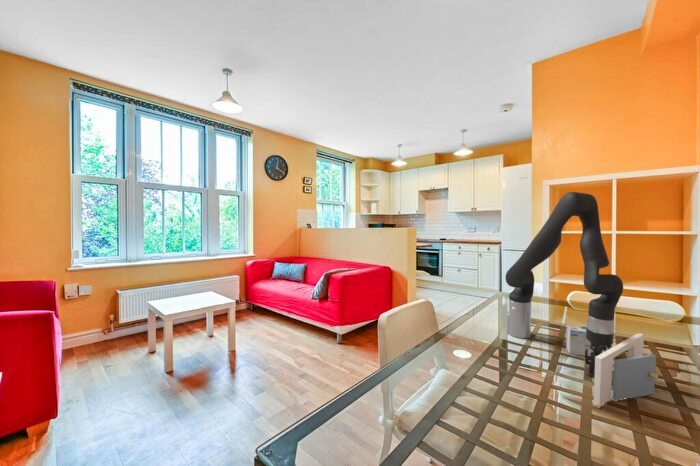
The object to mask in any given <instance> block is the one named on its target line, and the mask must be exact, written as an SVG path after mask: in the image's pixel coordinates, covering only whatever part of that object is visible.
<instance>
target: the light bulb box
mask: <svg viewBox="0 0 700 466" xmlns="http://www.w3.org/2000/svg"><path fill="white" fill-rule="evenodd" d="M565 325H566V326H565V328H566V329H565V333H566V334H565V338H566V339H565V348H566V350H567V353H568V354H570V355H577V356H584V357H585V350H586V349H587V350H590V349H589V347H590V345H591V342H590V341H589V340H587V339H586V327H587V325H575V324H568V323H567V324H565ZM595 357H596V356H595Z"/></svg>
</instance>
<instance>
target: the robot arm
mask: <svg viewBox="0 0 700 466" xmlns="http://www.w3.org/2000/svg"><path fill="white" fill-rule="evenodd" d="M572 217H578V218H579V220H580V223H581V226H582V233H581V238H580V240H579V250H580V255H581V257H582V260H583V265H584V266H583V267H584V268H583V270H584V271H583V286H584V289H586V290H587V292H588V293H590V294H592V295H599V297H596V298H593V299H590V301H589V303H588V313H587V319H586V326H587V327H586V339H587V340H589V341H590V342H591V345H590V347H589V349H590V350H587V349H586V350H585V356H584V357H585V365H586V364H587V365H589V374H590V375H589V376H591V375H592V376H591V377H593V376H594V377H595V356H598V355H600V354H602V353H603V352H605V351H607V350H609V349H610V348H612V346H613V344H614V337H615V336H614V335H615V309H616V307H617V305H618V303H619V301H620V298H621V296H622V294H623V291H624V283H623V281H622V279H621V278H620V276H618V275H616V274H611V273H610V274H606V273H605V274H600V270H601V269H605V268H607V267H608V266H609V265H610V261H609V257H608V253H607V251H606V250H607V249H606V248H605V245H604V241H603V237H602V231H601V223H600V214H599V206H598V202H597V199H596V197H595V196H594V195H592V194H590V193H586V192H576V191H570V192H566V193H565V194H564V195H562V197H560V199H559V200H558V202H557V203H556V205H555V207H554V208H553V211H552V212H551V214H550V215H549V217H548V218H547V220H546V222H545V223H544V224H543V226H542V227H541V229H539V231H538V233H537V234H536V235H535V237H533V239H532V240H531V241H530V243H529V245H528V246H527V247H526V249H525V250H524V251H523V253H522V254H521V255H520V257H519V258H518V259H517V260H516V262H515V263H514V264H513V265H512V266H510V268H508V270H507V271H506V272H505V282H506V284H507V285H508V286H509V287H511V288H514V289H513V290H512V291H510V292H509V294H508V313H507V314H506V333H508V334H509V335H510V336H512V337H515V338H518V339H529V338H531V335H532V334H531V333H532V332H531V331H532V330H531V329H532V328H531V327H532V324H531V323H532V297H533V296H534V291H535V290H534V289H535V288H534V287H535V276H534V273H533V271H532V270H533V269H535V268H536V267H537V266H538V265H540V264H542V263H543V262H544V261H547V260H548V259H549V258H550V257H551V256H552V255H554V254H553V253H555V251H556V250H557V249H558V247H559V246H560V245H561V243H562V233H563V229H564V226H565V225H566V224H567V222H568V221H569V220H570V219H571V218H572ZM594 377H593V378H594Z"/></svg>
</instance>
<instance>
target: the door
mask: <svg viewBox="0 0 700 466" xmlns="http://www.w3.org/2000/svg"><path fill="white" fill-rule="evenodd" d="M656 363H657V355H656V354H654V353H649V354H643V355H642V356H636V357H630V358H628V357H625V358H619V359H613V371H614V377H613V385H612V400H613V399H614V400H620V399H624V398H630V399H635V398H640V397H645V396H650V395H655V383H656V382H655V381H656V380H657V379H658V378H659V374H657V373H656V367H657V364H656ZM630 399H629V400H630ZM614 400H613V401H614ZM620 401H621V400H620Z"/></svg>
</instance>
